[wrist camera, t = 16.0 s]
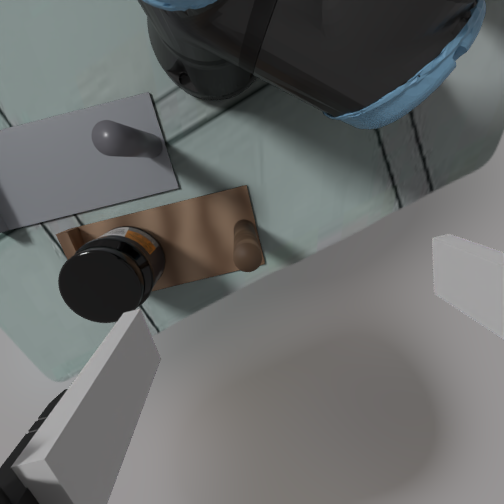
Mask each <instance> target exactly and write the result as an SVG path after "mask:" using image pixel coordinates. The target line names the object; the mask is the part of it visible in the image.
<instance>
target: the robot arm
mask: <svg viewBox="0 0 504 504" xmlns="http://www.w3.org/2000/svg"><path fill="white" fill-rule="evenodd" d="M138 2H139V3H140V5H141V7H142V8H143V10H144V12H145V13H146V15H147V23H148V32H149V37H150V41H151V45H152V48H153V50H154V53H155V55H156V57H157V59H158V61H159V63H160V65H161V66H162V68H163V69H164V71H165V72H166V73H167V75H168V76H169V77H170V78H171V79H172V81H173V82H174V83H175V84H176V85H178V86H179V87H180V88H181V89H183V90H184V91H186V92H187V93H189V94H191V95H193V96H195V97H198V98H201V99H206V100H223V99H227V98H231V97H233V96H235V95H237V94H239V93H241V92H242V91H244V90H245V89H246V88H248V87H249V86H250V85H251V84H252V83H253V82H254V80H255V79H256V78H257V77H258V78H260V79H262V80H264V81H266V82H268V83H270V84H271V85H273V86H275V87H277V88H279V89H281V90H283V91H285V92H287V93H289V94H291V95H293V96H294V97H296V98H298V99H300V100H302V101H304V102H306V103H308V104H310V105H312V106H314V107H315V108H317V109H319V110H321V111H323V114H324V115H325V116H327V117H329V118H331V119H336V120H341V121H343V122H345V123H347V124H350V125H352V126H354V127H356V128H359V129H376V128H380V127H383V126H386V125H388V124H390V123H392V122H394V121H396V120H398V119H400V118H401V117H403V116H404V115H406V114H407V113H409V112H410V111H411V110H413V109H414V108H415V107H416V106H418V105H419V104H420V103H421V102H423V101H424V100H425V99H426V98H427V97H428V96H429V95H430V94H431V93H433V92H434V91H435V90H436V89H437V88H438V87H439V86H440V85H441V83H442V82H443V81H444V80H445V79H446V78H447V77H448V76H449V74H450V73H451V72H452V71H453V70H454V68H455V67H456V62H455V61H456V60H457V59H458V58H459V57H460V56H461V55H463V54H464V53H466V52H467V51H468V50H469V48H470V47H471V45H472V43H473V42H474V40H475V38H476V37H477V35H478V33H479V31H480V28H481V26H482V23H483V20H484V17H485V14H486V2H485V0H138ZM432 248H433V249H432V250H433V279H434V294H435V295H437V296H438V297H440V298H441V299H443V300H444V301H446V302H447V303H449V304H450V305H452V306H453V307H455V308H457V309H458V310H459V311H461V312H462V313H464V314H465V315H467V316H468V317H470V318H471V319H473V320H475V321H476V322H477V323H479V324H480V325H482V326H483V327H485V328H486V329H488V330H489V331H491V332H492V333H494V334H495V335H497V336H499V337H500V338H501V339H503V340H504V252H501V251H499V250H495V249H492V248H490V247H487V246H484V245H481V244H478V243H475V242H472V241H469V240H466V239H463V238H461V237H457V236H455V235H452V234H446V235H442V236H438V237H434V238H432ZM160 360H161V358H160V355H159V353H158V350H157V348H156V345H155V343H154V341H153V338H152V336H151V333H150V331H149V328H148V326H147V324H146V321H145V319H144V316H143V314H142V311H141V309H137V310H133V311H129V312H125V313H123V314H122V316H121V317H120V318H119V320H118V321H117V323H116V324H115V325H114V327H113V328H112V329H111V331H110V332H109V334H108V335H107V336H106V338H105V339H104V340H103V342H102V343H101V344H100V346H99V347H98V349H97V350H96V351H95V353H94V354H93V355H92V357H91V358H90V360H89V361H88V362H87V364H86V365H85V366H84V368H83V369H82V370H81V372H80V373H79V375H78V376H77V378H76V379H75V380H74V381H73V383H72V384H71V386H70V387H69V388H68V389H66V390H64V391H63V392H62V393H60V394H59V395H58V396H57V397H56V398H55V399H54V400H53V401H52V402H51V403H49V405H48V406H47V407H46V409H45V410H44V412H42V414H41V415H40V416H39V418H38V421H36V422H35V423H34V425H33V426H32V427H31V428H30V430H29V433H28V434H26V435H25V436H24V437H23V439H22V440H21V441H20V443H19V444H18V445H17V447H16V448H15V449H14V451H13V452H12V453H11V455H10V456H9V457H8V458H7V460H6V461H5V462H4V464H3V465H2V466H1V468H0V504H107V502H108V500H109V497H110V495H111V492H112V489H113V486H114V484H115V481H116V479H117V476H118V473H119V470H120V468H121V465H122V462H123V460H124V457H125V454H126V451H127V449H128V446H129V444H130V441H131V438H132V436H133V433H134V430H135V427H136V425H137V422H138V419H139V417H140V414H141V411H142V409H143V406H144V403H145V400H146V398H147V395H148V393H149V390H150V387H151V384H152V381H153V379H154V376H155V374H156V371H157V368H158V366H159V363H160Z"/></svg>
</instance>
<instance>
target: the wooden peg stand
mask: <svg viewBox="0 0 504 504" xmlns="http://www.w3.org/2000/svg"><path fill="white" fill-rule="evenodd" d="M120 226H135V227H139V228H142V229H144V230H146V231H148V232H150V233H151V234H153V235H154V236H155V237H156V238H157V239H158V241H159V242H160V243H161V245H162V247H163V249H164V252H165V258H166V264H165V269H164V272H163V274H162V276H161V277H160V279H159V280H158V281H157V282H156V284H155V286H154V287H153V289H152V291H155V290H159V289H164V288H168V287H172V286H176V285H180V284H184V283H188V282H192V281H196V280H201V279H205V278H209V277H213V276H217V275H221V274H225V273H229V272H234V271H238V270H241V271H244V272H251V271H254V270H256V269H257V268H258V267H259V266H260V265H262V264H265V261H264V257H263V253H262V249H261V244H260V240H259V236H258V232H257V227H256V223H255V219H254V215H253V211H252V206H251V202H250V198H249V194H248V190H247V185H245V186H241V187H237V188H233V189H229V190H225V191H221V192H217V193H213V194H209V195H205V196H201V197H197V198H192V199H188V200H184V201H180V202H176V203H172V204H168V205H164V206H160V207H156V208H152V209H148V210H144V211H140V212H136V213H132V214H128V215H124V216H120V217H116V218H112V219H108V220H104V221H100V222H96V223H92V224H88V225H84V226H80V227H76V228H72V229H68V230H66V231H63V232H61V233H58V234H56V236H57V238H58V240H59V242H60V244H61V246H62V248H63V250H64V253H65V255H66V257H67V259H69V258H71V257H72V256H73V255H74V254H75V253H76V251H77V250H78V249H79V248H80V247H81V246H83V245H84V244H85V243H87V242H89V241H91V240H94V239H97V238H98V237H100V236H102V235H104V234H105V233H106V232H108V231H110V230H112V229H114V228H116V227H120Z"/></svg>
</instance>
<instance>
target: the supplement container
mask: <svg viewBox="0 0 504 504" xmlns="http://www.w3.org/2000/svg"><path fill="white" fill-rule="evenodd" d="M165 264H166V258H165V252H164V249H163V247H162V245H161V243H160V242H159V241H158V239H157V238H156V237H155V236H154V235H153V234H151V233H150V232H148V231H146V230H144V229H142V228H139V227H135V226H120V227H116V228H114V229H112V230H110V231H108V232H106V233H105V234H104V235H102V236H100V237H98V238H97V239H94V240H91V241H89V242H87V243H85V244H84V245H83V246H81V247H80V248H79V249H78V250H77V251H76V253H75V254H74V255H73V256H72V257H71V258H69V259H68V260H67V261H66V262H65V264H64V265H63V267H62V268H61V271H60V274H59V280H58V284H59V290H60V293H61V296H62V298H63V300H64V301H65V303H66V304H67V305H68V307H69V308H70V309H71V310H73V311H74V312H75V313H76V314H78V315H79V316H81V317H83V318H85V319H87V320H90V321H94V322H100V323H111V322H116V321H118V320H119V318H120V317H121V316H122V314H123V313H125V312H129V311H133V310H135V309H136V308H137V307H139V306H140V305H141V304H143V303H144V302H145V301H146V299H147V298H148V297H149V295H150V293H151V291H152V289H153V287H154V286H155V284H156V282H157V281H158V280H159V279H160V277H161V276H162V274H163V272H164V269H165Z"/></svg>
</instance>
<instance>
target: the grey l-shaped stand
mask: <svg viewBox="0 0 504 504" xmlns="http://www.w3.org/2000/svg"><path fill="white" fill-rule="evenodd" d="M176 188H179V186H178V183H177V180H176V177H175V173H174V170H173V167H172V164H171V161H170V157H169V154H168V151H167V148H166V145H165V141H164V138H163V135H162V132H161V129H160V125H159V122H158V119H157V116H156V113H155V109H154V106H153V103H152V100H151V97H150V93H149V92H147V93H143V94H139V95H135V96H131V97H127V98H123V99H119V100H116V101H112V102H108V103H104V104H100V105H96V106H92V107H88V108H84V109H80V110H76V111H72V112H69V113H65V114H61V115H57V116H53V117H49V118H45V119H41V120H37V121H33V122H29V123H25V124H22V125H18V126H14V127H10V128H6V129H2V130H0V233H1V232H5V231H8V230H12V229H16V228H20V227H24V226H28V225H32V224H36V223H40V222H44V221H48V220H52V219H56V218H60V217H64V216H68V215H72V214H76V213H80V212H84V211H88V210H92V209H96V208H100V207H104V206H108V205H112V204H116V203H120V202H124V201H128V200H132V199H136V198H140V197H144V196H148V195H152V194H156V193H160V192H164V191H168V190H172V189H176Z"/></svg>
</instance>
